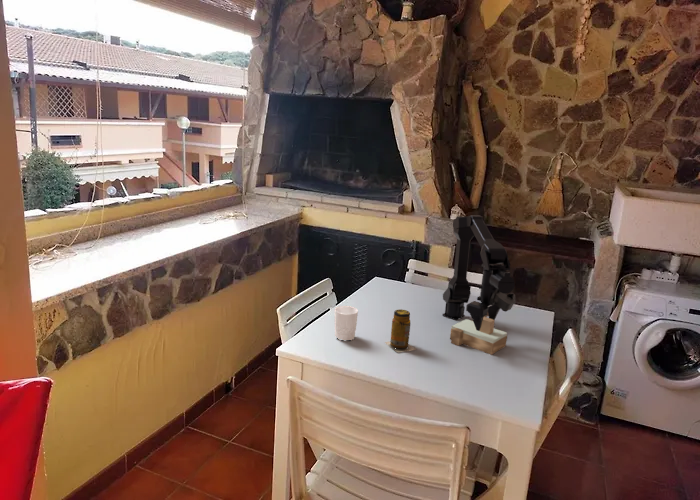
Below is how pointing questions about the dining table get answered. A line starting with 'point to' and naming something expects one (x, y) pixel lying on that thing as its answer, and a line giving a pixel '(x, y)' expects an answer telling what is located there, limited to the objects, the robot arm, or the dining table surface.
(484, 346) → the brown shallow open box
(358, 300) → the dining table surface
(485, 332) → the lid
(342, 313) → the white cup
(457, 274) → the robot arm
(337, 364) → the dining table surface
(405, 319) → the yellow can
